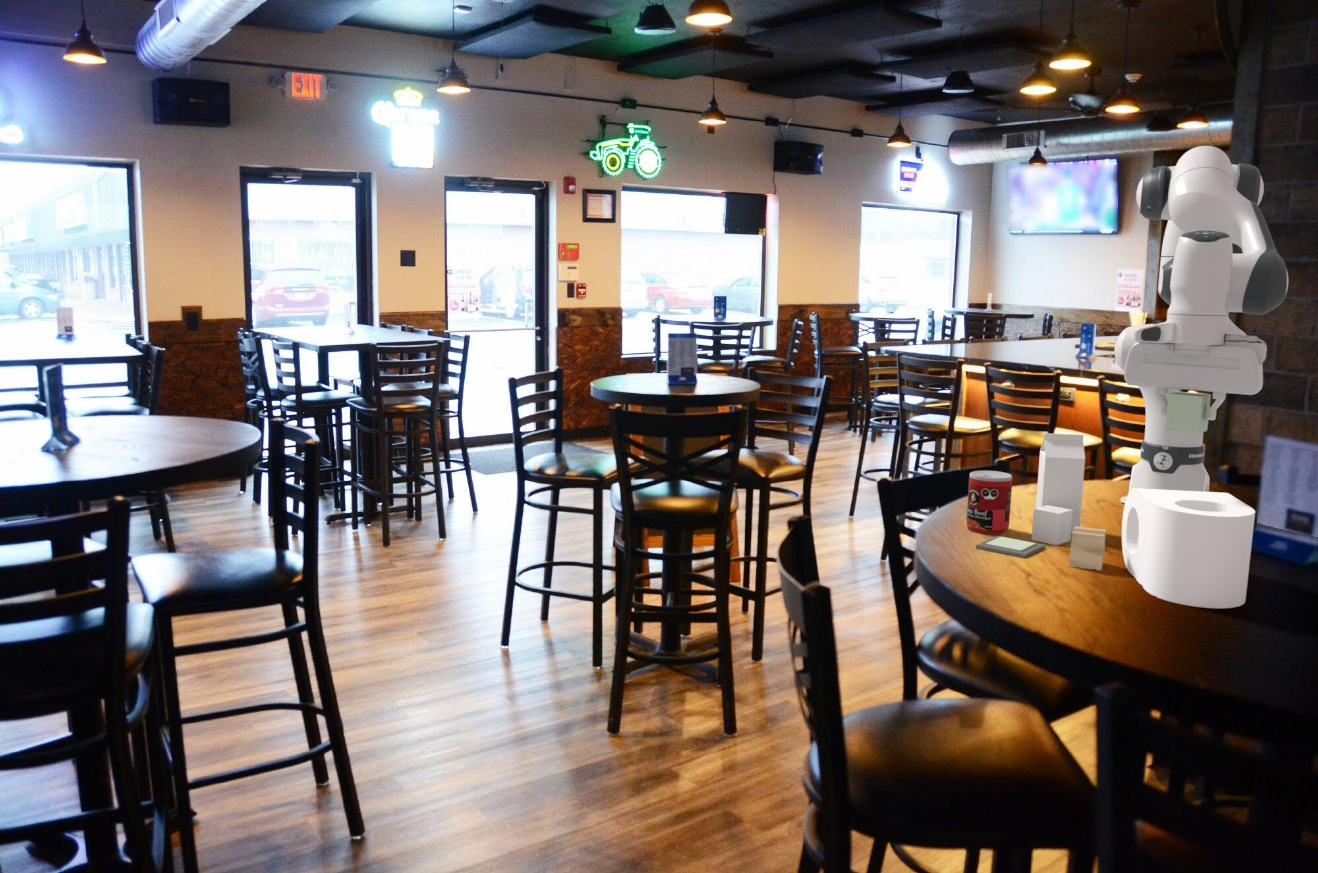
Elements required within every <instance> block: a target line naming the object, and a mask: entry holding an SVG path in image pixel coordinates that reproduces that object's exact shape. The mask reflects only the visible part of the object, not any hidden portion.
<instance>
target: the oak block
mask: <svg viewBox="0 0 1318 873" xmlns="http://www.w3.org/2000/svg"><path fill="white" fill-rule="evenodd" d="M1106 532H1107V530H1106V529H1102V528H1094V527H1093V528H1091V527H1083V526H1080V527H1076V526H1075V527H1074V529H1073V532H1072V535H1071V539H1070V541H1071V542H1070V553H1069V555H1070V556H1069V566H1070V568H1077V567H1079V568H1078V569H1084V570H1092V569H1096V570H1095V571H1102V570H1103V565H1104V560H1105V559H1104V557H1105V545H1106V534H1107V533H1106Z"/></svg>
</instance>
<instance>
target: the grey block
mask: <svg viewBox="0 0 1318 873" xmlns="http://www.w3.org/2000/svg"><path fill="white" fill-rule="evenodd" d="M1032 514H1033V515H1032V516H1033V517H1032V527H1031V528H1032V530H1031V540H1032V541H1035V542H1040V543H1043V544H1044V543H1045V544H1049V545H1054V546H1058V545H1062V544H1064V543H1068V542H1070V541H1071V539H1072V535H1071V526H1072V514H1073V510H1070V509H1065V508H1060V507H1055V506H1050V505H1046V506H1042V507H1038V508H1036V507H1035V508H1033V513H1032Z"/></svg>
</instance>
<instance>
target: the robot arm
mask: <svg viewBox="0 0 1318 873" xmlns="http://www.w3.org/2000/svg"><path fill="white" fill-rule="evenodd" d="M1264 185H1265V184H1264V180H1263V178H1262V175H1261V170H1260V169H1259V168H1258V167H1257V166H1256V165H1252V164H1248V163H1241V162H1239V163H1238V164H1234V163H1233V164H1232V162H1231V160H1230V158H1229V156H1228V155H1227V153H1225V152H1224V150H1222V149H1221V148H1219V147H1216V146H1211V145H1201V146H1200V145H1199V146H1196V147H1193V148H1190V149H1189V150H1187V151H1186V152H1184V153H1183V155H1181V157H1179V159H1178V160H1177V162H1176V165H1173V166H1172V165H1171V166H1166V165H1160V166H1156V167H1153V168H1150V169H1147V171H1146V172H1145V173H1143V175H1142V178H1141V179H1140V181H1139V183H1138V185H1137V189H1136V193H1135V194H1136V195H1135V197H1136V198H1135V200H1136V204H1137V207H1138V209H1139V213H1140V215H1142V216H1143V218H1144V219H1147V220H1152V221H1158V222H1159V221H1161V220H1165V221H1167V223H1166V225H1165V226H1166V227H1165V229H1164V230H1165V231H1164V235H1163V238H1162V239H1163V240H1162V246H1161V255H1160V262H1159V275H1158V286H1157V287H1158V288H1157V291H1158V294H1159V297H1160V299H1162V300H1163V301H1164V302H1165V303H1166V304H1167V305H1169V307H1168V309H1167V313H1166V314H1167V316H1166V320H1165V321H1164V322H1156V323H1147V324H1139V325H1137V324H1136V325H1132V326H1127V327H1126V328H1124V330H1122V331H1121V332H1120V333H1119V335H1118V337H1117V338H1116V341H1115V343H1114V350H1113V353H1114V359H1115V360H1116V361H1115V362H1116V363H1117V365H1118V367H1119V368H1120V369H1121V370H1122V371H1123V372H1124V376H1123V378H1124V381H1125V382H1126V384H1127V385H1129V386H1138V388H1139V390H1140V392H1141V394H1142V398H1143V401H1144V406H1145V407H1144V408H1145V409H1144V410H1145V413H1144V414H1145V424H1144V425H1145V428H1144V439H1143V440H1142V441H1141V446H1140V455H1139V456H1140V458H1141V459H1140V461H1139V462H1137V463H1135V464H1134V465H1132V468H1131V475H1130V480H1129V486H1128V487H1129V488H1128V494H1129V492H1130V490H1131V489H1133V488H1141V489H1161V490H1181V491H1201V492H1211V490H1210V491H1209V489H1210V476H1209V473H1208V472H1207V469H1206V468H1205V465H1204V462H1205V455H1206V444H1205V443H1203V441H1204V432H1202V433H1199V434H1195V433H1186V432H1176V431H1167V430H1165V428H1166V417H1167V407H1168V396H1169V394H1170V393H1175V392H1182V391H1181V390H1185V391H1197V392H1209V393H1210V392H1212V399H1213V400H1214V402H1213V403H1212V404H1211V405H1210V408H1205V409H1204V412H1203V413H1204V415H1203V419H1205V420H1208V421H1215V420H1216V418H1217V409H1219V407H1220V406H1221V405H1223V402H1224V401H1225V400H1226V396H1227V394H1235V395H1236V394H1237V395H1248V396H1253V395H1256V394H1259V392H1260V391H1261V390H1262V389H1263V386H1264V371H1263V370H1264V369H1263V368H1264V367H1263V364H1264V363H1265V361H1266V358H1267V354H1268V353H1267V352H1268V346H1267V343H1266V342H1265V341H1264V340H1262V339H1261V338H1259V337H1258V336H1257V335H1249V334H1248V335H1247V333H1246V332H1244V331H1243V330H1242V329H1240V328H1239V327H1238V326H1237V325H1236V324H1235V323H1234V322H1233V321H1232V320H1231V319H1230V317H1229V314H1230V313H1243V314H1247V315H1248V314H1249V315H1259V316H1264V315H1266V314H1268V313H1269V312H1272V311H1273V310H1275V309H1277V307H1279V306H1280V305H1282V304H1283V303H1284V301H1285V298H1286V295H1287V292H1288V289H1289V288H1288V287H1289V274H1288V273H1289V272H1288V269H1287V266H1286V263H1285V261H1284V259H1283V258H1282V256H1280V254H1279V252H1278V250H1277V248H1276V246H1275V242H1274V240H1273V238H1272V235H1271V232H1270V230H1269V227H1268V224H1267V222H1266V219H1265V217H1264V214H1263V212H1262V210H1261V209H1260V207H1259V205H1260V203H1261V202H1262V200H1263V199H1262V198H1263V196H1264V191H1265V190H1264V189H1265V186H1264ZM1233 244H1234V245H1237V246H1238V247H1240V249H1241V251H1242V253H1233ZM1128 494H1127V495H1125V496H1122V497H1120V502H1121V503H1123V504H1125V501H1126V498H1127V496H1128Z"/></svg>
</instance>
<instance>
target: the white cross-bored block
mask: <svg viewBox="0 0 1318 873" xmlns="http://www.w3.org/2000/svg"><path fill="white" fill-rule="evenodd" d="M1128 493H1129V494H1127V495H1126V496H1127V498H1126V501H1125V503H1124V506H1123V512H1122V519H1121V520H1122V521H1121V548H1122V556H1123V561H1124V564H1125V567H1126V569H1127V571H1128V572H1129V573H1130V574H1131V576H1132V577H1133V576H1134V577H1133V578H1134V579H1135V578H1136V579H1135V580H1136V581H1137V582H1138V584H1139V585H1140V584H1141V585H1142V586H1143V587H1142V586H1141V585H1140V586H1141V587H1142V588H1143V589H1144V591H1145V592H1146V593H1148V594H1150V595H1151V596H1154V597H1155V596H1156V598H1157V599H1161V600H1162V601H1163V600H1164V601H1167V602H1170V603H1174V604H1178V605H1182V606H1183V605H1184V606H1190V607H1194V608H1195V607H1196V608H1205V609H1232V608H1237V607H1240V606H1242V605H1244V604H1245V603H1246V600H1247V599H1246V598H1247V591H1248V590H1247V589H1248V582H1249V572H1250V561H1251V552H1252V547H1253V546H1252V545H1253V544H1252V543H1253V534H1254V526H1255V518H1256V510H1255V509H1254V508H1253V507H1251V506H1250V505H1248V504H1246V503H1245V502H1243V501H1241V500H1240V499H1238V498H1236V497H1235V496H1234V495H1232V494H1230V493H1229V492H1219V491H1218V492H1217V491H1210V492H1201V491H1181V490H1161V489H1141V488H1133V489H1131V490H1130V492H1129V491H1128Z"/></svg>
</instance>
